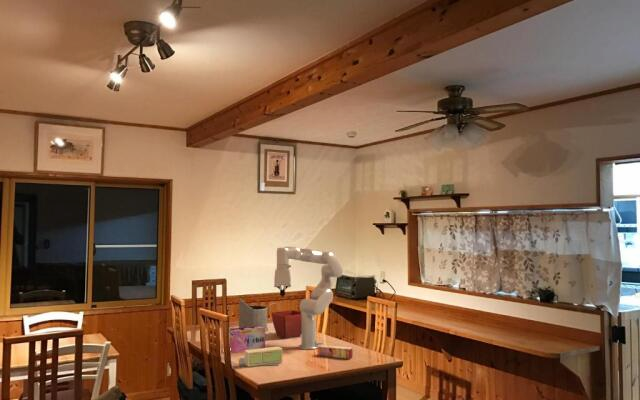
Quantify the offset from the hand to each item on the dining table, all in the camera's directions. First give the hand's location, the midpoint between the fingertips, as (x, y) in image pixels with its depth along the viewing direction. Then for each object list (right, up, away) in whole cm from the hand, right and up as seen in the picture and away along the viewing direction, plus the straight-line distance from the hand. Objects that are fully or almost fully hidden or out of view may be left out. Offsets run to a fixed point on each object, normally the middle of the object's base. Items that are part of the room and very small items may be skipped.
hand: (282, 296), depth 324 cm
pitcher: (-23, -39, +69) cm, 82 cm away
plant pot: (+1, -38, +47) cm, 60 cm away
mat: (-12, -34, -24) cm, 43 cm away
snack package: (+33, -35, -11) cm, 49 cm away
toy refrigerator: (+1, -30, -23) cm, 38 cm away
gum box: (-23, -36, +8) cm, 44 cm away
